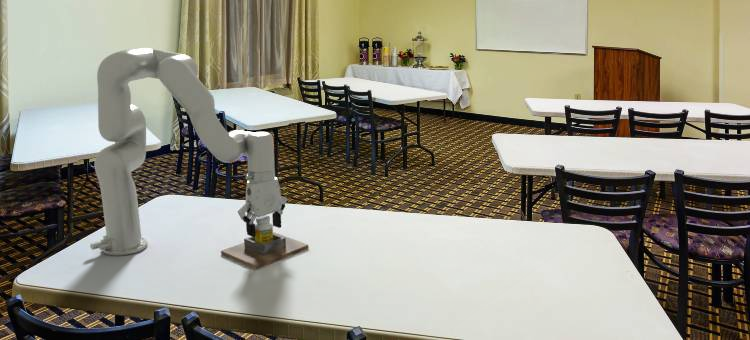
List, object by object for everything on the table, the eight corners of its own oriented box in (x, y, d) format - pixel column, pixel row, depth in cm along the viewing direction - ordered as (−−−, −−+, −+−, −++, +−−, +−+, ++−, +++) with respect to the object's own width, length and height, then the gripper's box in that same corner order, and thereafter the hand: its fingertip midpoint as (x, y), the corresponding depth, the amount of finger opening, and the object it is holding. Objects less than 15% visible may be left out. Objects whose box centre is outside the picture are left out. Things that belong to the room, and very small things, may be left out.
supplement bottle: (266, 242, 180) (265, 212, 178) (277, 247, 176) (275, 217, 174) (251, 247, 176) (250, 217, 174) (261, 252, 173) (260, 221, 170)
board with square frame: (255, 269, 164) (254, 255, 163) (221, 254, 174) (220, 241, 173) (308, 248, 179) (308, 235, 178) (274, 235, 189) (273, 223, 188)
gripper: (245, 184, 162) (248, 242, 166) (293, 171, 174) (295, 226, 179) (228, 179, 166) (232, 236, 171) (276, 167, 179) (278, 220, 184)
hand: (264, 231), depth 175 cm, fingers open, 9 cm apart
